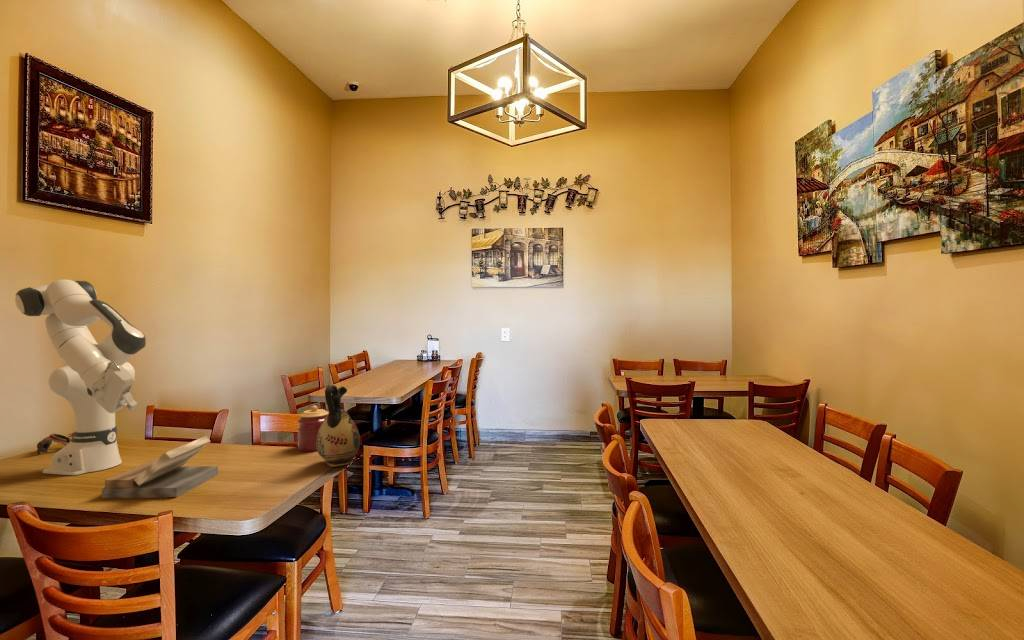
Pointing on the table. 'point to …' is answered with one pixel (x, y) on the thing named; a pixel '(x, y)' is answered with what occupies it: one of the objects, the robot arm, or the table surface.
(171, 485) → the grey flat block
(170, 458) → the plank
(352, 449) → the ceramic jug
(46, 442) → the strapped headlamp
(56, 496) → the table surface
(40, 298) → the robot arm
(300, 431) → the canister
